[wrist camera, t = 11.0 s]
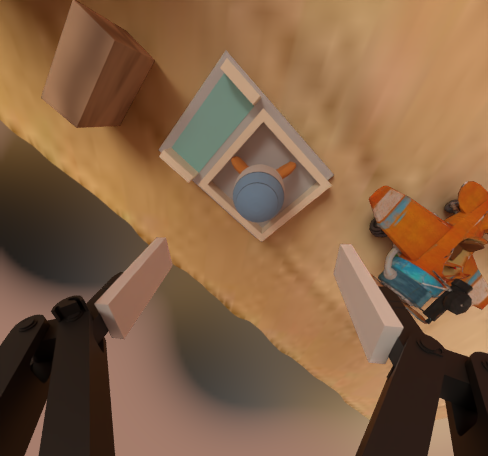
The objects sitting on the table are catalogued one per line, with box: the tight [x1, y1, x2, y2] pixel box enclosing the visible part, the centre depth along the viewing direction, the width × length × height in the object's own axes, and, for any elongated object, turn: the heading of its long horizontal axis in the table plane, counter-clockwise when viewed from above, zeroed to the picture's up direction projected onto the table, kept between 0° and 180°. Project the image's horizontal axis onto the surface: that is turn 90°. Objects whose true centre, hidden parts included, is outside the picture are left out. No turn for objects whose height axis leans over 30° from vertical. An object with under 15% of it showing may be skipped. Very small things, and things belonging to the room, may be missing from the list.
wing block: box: [41, 0, 155, 128], centre depth 29 cm, size 5×12×9 cm, turn 137°
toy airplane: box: [369, 181, 488, 324], centre depth 32 cm, size 29×23×15 cm
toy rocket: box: [231, 156, 296, 223], centre depth 31 cm, size 10×11×15 cm
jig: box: [159, 51, 334, 242], centre depth 34 cm, size 24×18×4 cm
